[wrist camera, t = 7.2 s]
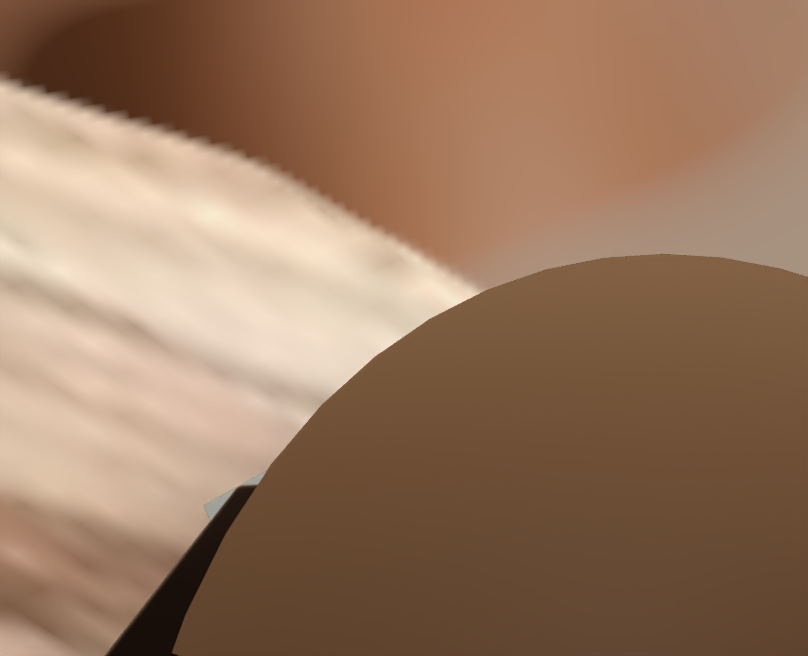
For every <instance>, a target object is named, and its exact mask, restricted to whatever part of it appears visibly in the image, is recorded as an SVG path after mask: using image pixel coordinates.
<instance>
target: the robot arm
mask: <svg viewBox="0 0 808 656" xmlns="http://www.w3.org/2000/svg"><path fill="white" fill-rule="evenodd" d="M257 485H258V484H252V485H241V486H239V487H237V488H236V489H235V490H234V491H233V493H232V494H231V495H230V497H229V498H228V499H227V500H226V502H225V503H224V504H223V505H222V507H221V508H220V509H219V511H218V512H217V513H216V514H215V516H214V517H213V518H212V519H211V521H210V522H209V523H208V525H207V526H206V527H205V528H204V530H203V531H202V532H201V534H200V535H199V536H198V537H197V539H196V540H195V541H194V542H193V544H192V545H191V546H190V548H189V549H188V550H187V551H186V553H185V554H184V555H183V556H182V558H181V559H180V560H179V562H178V563H177V564H176V565H175V567H174V568H173V569H172V571H171V572H170V573H169V574H168V576H167V577H166V578H165V579H164V581H163V582H162V583H161V585H160V586H159V587H158V588H157V590H156V591H155V592H154V593H153V595H152V596H151V597H150V599H149V600H148V601H147V602H146V604H145V605H144V606H143V608H142V609H141V610H140V611H139V613H138V614H137V615H136V616H135V618H134V619H133V620H132V622H131V623H130V624H129V625H128V627H127V628H126V629H125V630H124V632H123V633H122V634H121V636H120V637H119V638H118V639H117V641H116V642H115V643H114V644H113V646H112V647H111V648H110V650H109V651H108V652H107V653H106V655H105V656H171V654H172V651H173V648H174V645H175V643H176V640H177V637H178V634H179V631H180V629H181V626H182V623H183V620H184V618H185V615H186V613H187V611H188V609H189V607H190V605H191V603H192V601H193V599H194V597H195V595H196V593H197V591H198V589H199V587H200V585H201V583H202V581H203V579H204V577H205V575H206V573H207V571H208V569H209V566H210V564H211V562H212V560H213V558H214V556H215V554H216V552H217V550H218V548H219V546H220V544H221V542H222V540H223V538H224V536H225V534H226V533H227V531H228V530H229V528H230V527H231V525H232V523H233V522H234V520H235V519H236V517H237V516H238V514H239V513H240V511H241V510H242V508H243V507H244V505H245V504H246V502H247V501H248V499H249V498H250V496H251V495H252V493H253V491H254V490H255V488H256V487H257Z"/></svg>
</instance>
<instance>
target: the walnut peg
mask: <svg viewBox="0 0 808 656" xmlns="http://www.w3.org/2000/svg"><path fill="white" fill-rule="evenodd" d="M171 656H808V277H806V276H803V275H799V274H796V273H793V272H789V271H786V270H783V269H779V268H774V267H769V266H764V265H758V264H753V263H747V262H742V261H736V260H731V259H726V258H719V257H703V256H686V255H671V254H656V255H641V256H626V257H611V258H601V259H596V260H592V261H586V262H581V263H576V264H571V265H566V266H561V267H557V268H552V269H547V270H543V271H541V272H537V273H535V274H532V275H529V276H526V277H523V278H520V279H517V280H514V281H511V282H509V283H506V284H503V285H500V286H497V287H494V288H491V289H488V290H486V291H484V292H482V293H480V294H478V295H476V296H474V297H472V298H470V299H468V300H466V301H464V302H462V303H460V304H458V305H456V306H454V307H452V308H450V309H448V310H446V311H445V312H443V313H441V314H439V315H437V316H435V317H433V318H431V319H429V320H428V321H426V322H425V323H423V324H422V325H420V326H419V327H418V328H416V329H415V330H413V331H412V332H410V333H409V334H407V335H406V336H404V337H403V338H402V339H400V340H399V341H397V342H396V343H394V344H393V345H391V346H390V347H389V348H387V349H386V350H384V351H383V352H381V353H380V354H378V355H377V356H376V357H374V358H373V359H372V360H371V361H370V362H369V363H368V364H366V365H365V366H364V367H363V368H362V369H361V370H360V371H359V372H358V373H357V374H355V375H354V376H353V377H352V378H351V379H350V380H349V381H348V382H347V383H346V384H344V385H343V386H342V387H341V388H340V389H339V390H338V391H337V392H336V393H335V394H333V395H332V396H331V397H330V398H329V399H328V400H327V401H326V402H325V403H323V404H322V405H321V406H320V408H319V409H318V410H317V411H316V412H315V414H314V415H313V416H312V417H311V418H310V419H309V421H308V422H307V423H306V424H305V425H304V426H303V428H302V429H301V430H300V431H299V432H298V433H297V435H296V436H295V437H294V438H293V439H292V441H291V442H290V443H289V444H288V445H287V446H286V448H285V449H284V450H283V451H282V452H281V453H280V455H279V456H278V457H277V458H276V459H275V461H274V462H273V463H272V464H271V466H270V467H269V469H268V470H267V472H266V473H265V475H264V476H263V478H262V479H261V481H260V482H259V484H258V485H257V487H256V488H255V490H254V491H253V493H252V495H251V496H250V498H249V499H248V501H247V502H246V504H245V505H244V507H243V508H242V510H241V511H240V513H239V514H238V516H237V517H236V519H235V520H234V522H233V523H232V525H231V527H230V528H229V530H228V531H227V533H226V534H225V536H224V538H223V540H222V542H221V544H220V546H219V548H218V550H217V552H216V554H215V556H214V558H213V560H212V562H211V564H210V566H209V569H208V571H207V573H206V575H205V577H204V579H203V581H202V583H201V585H200V587H199V589H198V591H197V593H196V595H195V597H194V599H193V601H192V603H191V605H190V607H189V609H188V611H187V613H186V615H185V618H184V620H183V623H182V626H181V629H180V631H179V634H178V637H177V640H176V643H175V645H174V648H173V651H172V654H171Z"/></svg>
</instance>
